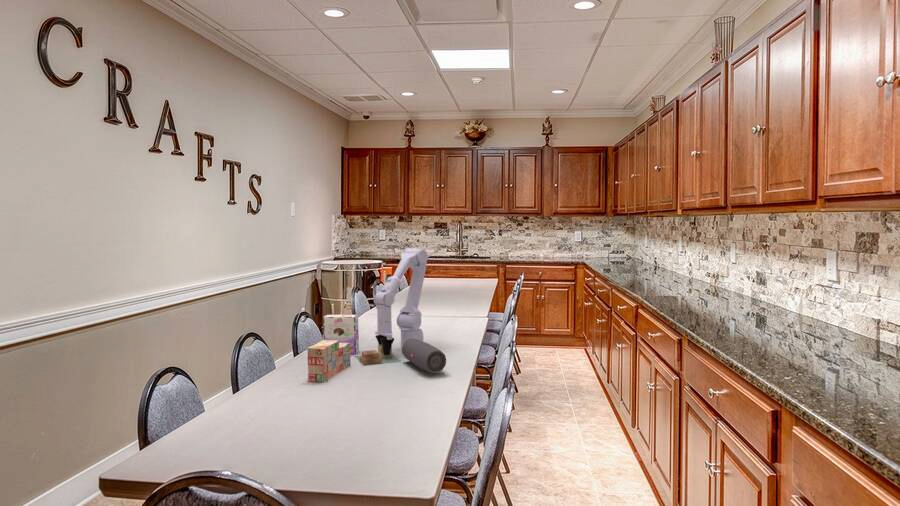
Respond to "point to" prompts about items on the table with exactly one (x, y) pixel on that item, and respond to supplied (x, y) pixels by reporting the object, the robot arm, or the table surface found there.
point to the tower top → (370, 354)
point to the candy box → (342, 330)
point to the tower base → (370, 361)
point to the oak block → (381, 353)
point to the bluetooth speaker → (424, 355)
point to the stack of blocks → (327, 359)
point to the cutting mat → (385, 360)
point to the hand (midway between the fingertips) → (384, 353)
